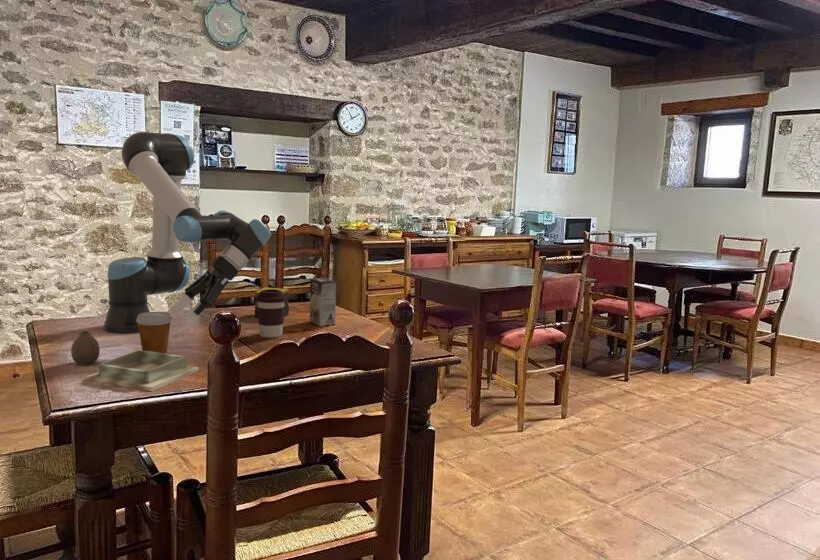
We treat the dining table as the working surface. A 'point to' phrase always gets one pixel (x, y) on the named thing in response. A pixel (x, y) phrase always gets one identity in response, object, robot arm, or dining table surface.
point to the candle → (285, 292)
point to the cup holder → (143, 370)
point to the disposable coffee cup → (154, 331)
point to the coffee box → (322, 301)
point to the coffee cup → (270, 312)
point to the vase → (85, 349)
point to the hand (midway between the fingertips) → (179, 317)
